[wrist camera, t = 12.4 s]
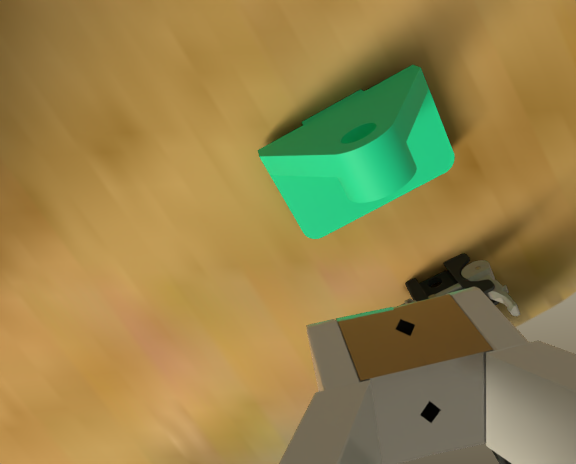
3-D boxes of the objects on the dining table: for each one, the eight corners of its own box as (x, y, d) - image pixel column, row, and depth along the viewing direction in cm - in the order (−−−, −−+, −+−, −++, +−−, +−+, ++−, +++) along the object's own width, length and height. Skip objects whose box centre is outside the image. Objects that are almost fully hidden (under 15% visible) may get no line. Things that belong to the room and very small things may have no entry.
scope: (579, 352, 30) (611, 455, 34) (473, 246, 42) (507, 331, 47) (451, 412, 31) (498, 505, 35) (384, 291, 43) (425, 370, 47)
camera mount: (304, 229, 40) (329, 299, 31) (256, 146, 37) (268, 197, 28) (444, 155, 39) (514, 205, 30) (407, 62, 36) (473, 86, 26)
